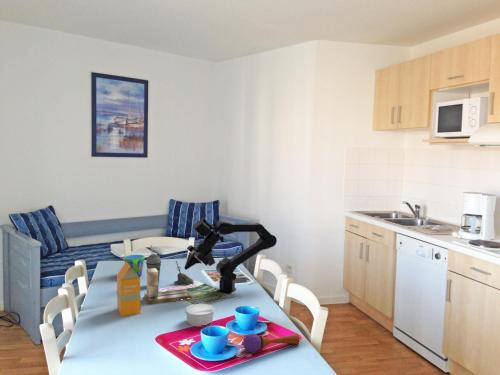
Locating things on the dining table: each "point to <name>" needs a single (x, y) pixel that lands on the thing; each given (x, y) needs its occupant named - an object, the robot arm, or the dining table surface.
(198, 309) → the ramekin
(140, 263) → the snack cup
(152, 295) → the slider block
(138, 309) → the orange juice
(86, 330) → the dining table surface
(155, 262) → the beverage cup
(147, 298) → the gauge board
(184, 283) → the sword in stone
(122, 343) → the dining table surface
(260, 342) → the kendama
